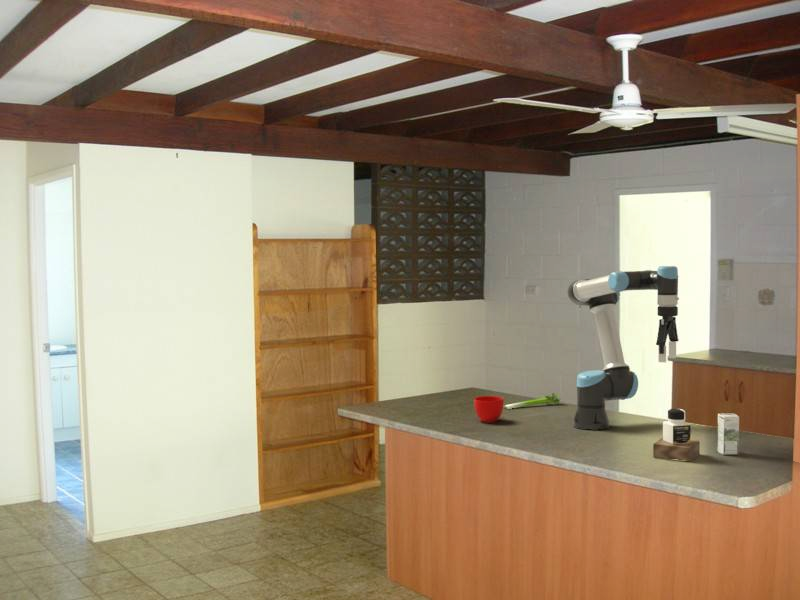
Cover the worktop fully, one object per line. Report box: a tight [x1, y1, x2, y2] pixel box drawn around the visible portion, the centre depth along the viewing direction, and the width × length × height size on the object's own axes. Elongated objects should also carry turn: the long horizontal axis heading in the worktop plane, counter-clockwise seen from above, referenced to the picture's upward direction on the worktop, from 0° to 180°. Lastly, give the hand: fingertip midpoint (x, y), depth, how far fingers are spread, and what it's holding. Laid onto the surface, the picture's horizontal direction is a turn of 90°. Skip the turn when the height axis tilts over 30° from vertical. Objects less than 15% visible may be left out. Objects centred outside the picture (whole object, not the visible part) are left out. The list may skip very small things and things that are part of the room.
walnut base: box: [652, 437, 701, 462], centre depth 309 cm, size 13×13×5 cm
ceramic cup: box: [473, 395, 505, 423], centre depth 378 cm, size 13×17×10 cm
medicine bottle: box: [662, 408, 691, 445], centre depth 309 cm, size 7×7×12 cm
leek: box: [503, 392, 561, 410], centre depth 408 cm, size 6×7×30 cm
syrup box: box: [716, 412, 740, 456], centre depth 312 cm, size 6×6×14 cm
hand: (667, 360), depth 332 cm, fingers open, 13 cm apart
